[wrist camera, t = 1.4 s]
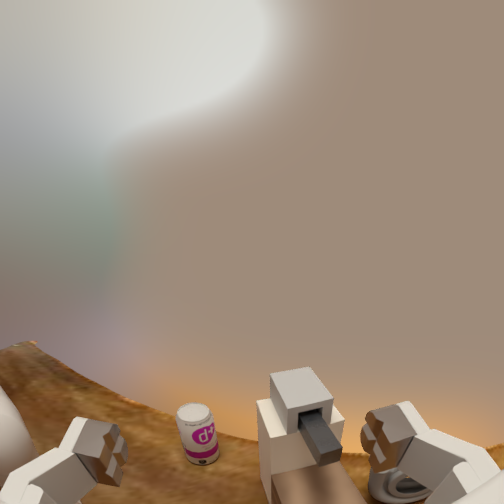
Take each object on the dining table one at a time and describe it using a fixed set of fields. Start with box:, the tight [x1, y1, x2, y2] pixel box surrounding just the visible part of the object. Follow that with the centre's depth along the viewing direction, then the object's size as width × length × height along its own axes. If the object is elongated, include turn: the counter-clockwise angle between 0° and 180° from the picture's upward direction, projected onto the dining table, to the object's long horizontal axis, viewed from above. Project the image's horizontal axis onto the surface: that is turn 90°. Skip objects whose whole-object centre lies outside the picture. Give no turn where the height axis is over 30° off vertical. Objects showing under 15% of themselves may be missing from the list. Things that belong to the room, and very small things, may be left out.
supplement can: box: [176, 403, 219, 465], centre depth 56 cm, size 8×8×15 cm
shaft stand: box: [256, 367, 345, 504], centre depth 44 cm, size 12×10×29 cm
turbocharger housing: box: [368, 467, 433, 504], centre depth 35 cm, size 17×6×15 cm, turn 68°
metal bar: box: [297, 408, 343, 467], centre depth 39 cm, size 3×20×3 cm, turn 11°
